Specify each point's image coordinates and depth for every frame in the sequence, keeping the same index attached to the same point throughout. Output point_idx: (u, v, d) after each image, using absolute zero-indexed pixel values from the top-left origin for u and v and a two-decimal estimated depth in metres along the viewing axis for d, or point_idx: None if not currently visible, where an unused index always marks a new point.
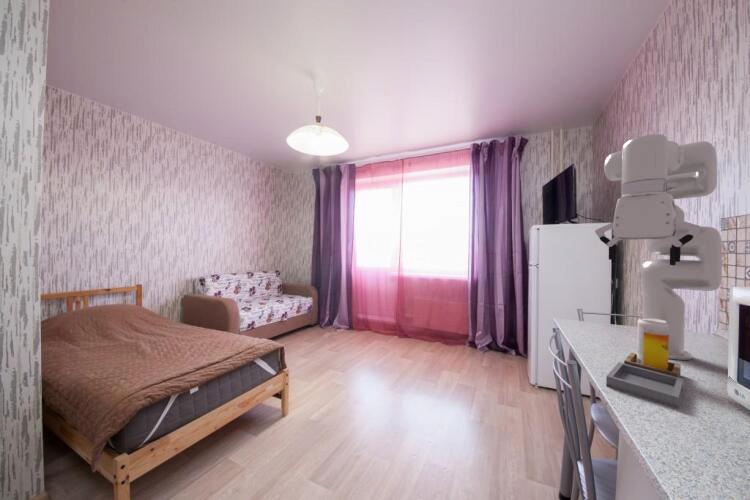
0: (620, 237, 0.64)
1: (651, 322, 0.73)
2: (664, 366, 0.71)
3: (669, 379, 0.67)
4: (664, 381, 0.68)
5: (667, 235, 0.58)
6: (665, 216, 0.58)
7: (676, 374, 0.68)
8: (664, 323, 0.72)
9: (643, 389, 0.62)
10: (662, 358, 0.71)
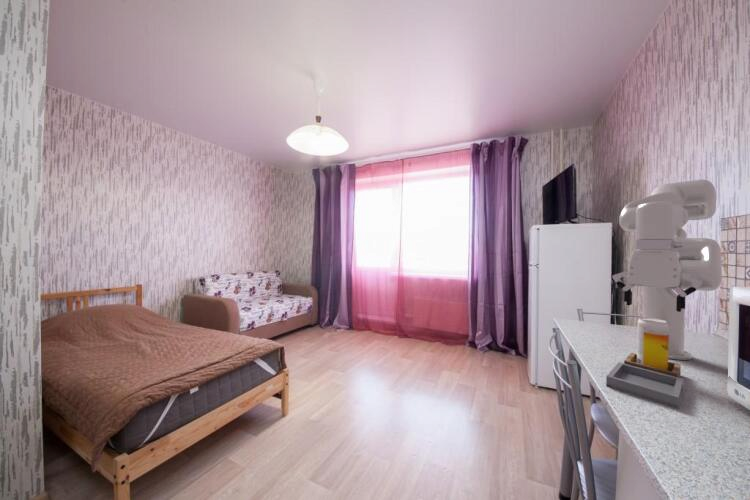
0: (634, 284, 0.76)
1: (651, 322, 0.73)
2: (664, 366, 0.71)
3: (669, 379, 0.67)
4: (664, 381, 0.68)
5: (674, 286, 0.70)
6: (672, 271, 0.70)
7: (676, 374, 0.68)
8: (664, 323, 0.72)
9: (643, 389, 0.62)
10: (662, 358, 0.71)
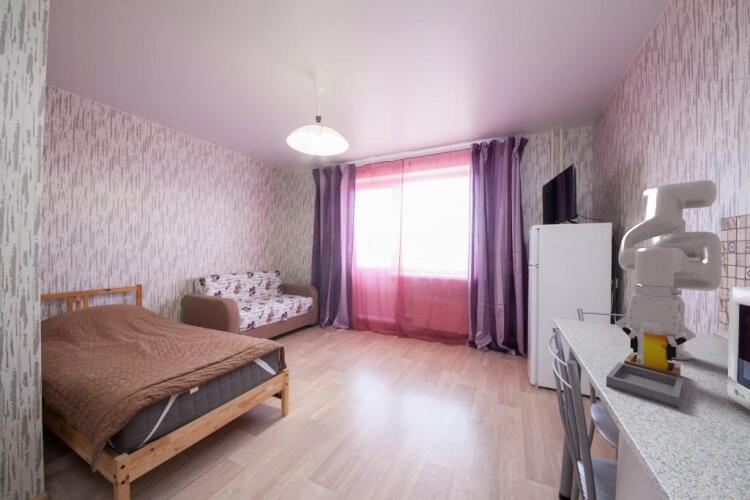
0: (633, 328, 0.76)
1: (651, 322, 0.73)
2: (664, 366, 0.71)
3: (669, 379, 0.67)
4: (664, 381, 0.68)
5: (673, 334, 0.70)
6: (672, 318, 0.70)
7: (676, 374, 0.68)
8: None
9: (643, 389, 0.62)
10: (662, 358, 0.71)
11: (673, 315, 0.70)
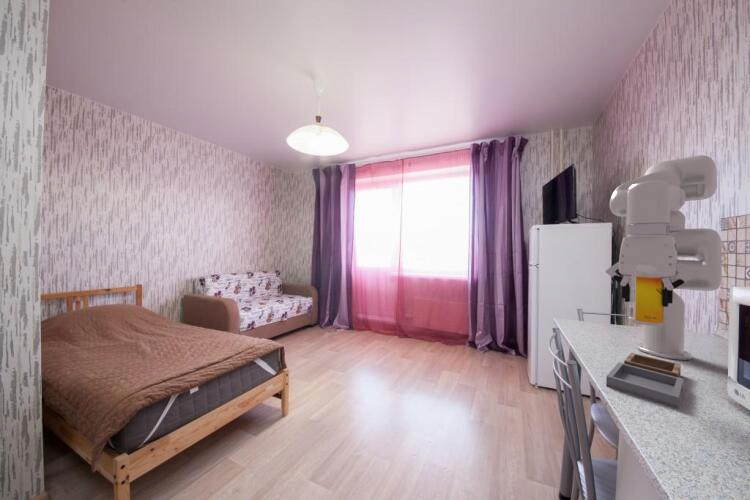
0: (625, 274, 0.68)
1: (644, 264, 0.65)
2: (659, 313, 0.63)
3: (669, 379, 0.67)
4: (664, 381, 0.68)
5: (670, 276, 0.62)
6: (668, 258, 0.62)
7: (676, 374, 0.68)
8: None
9: (643, 389, 0.62)
10: (656, 304, 0.63)
11: (669, 254, 0.62)
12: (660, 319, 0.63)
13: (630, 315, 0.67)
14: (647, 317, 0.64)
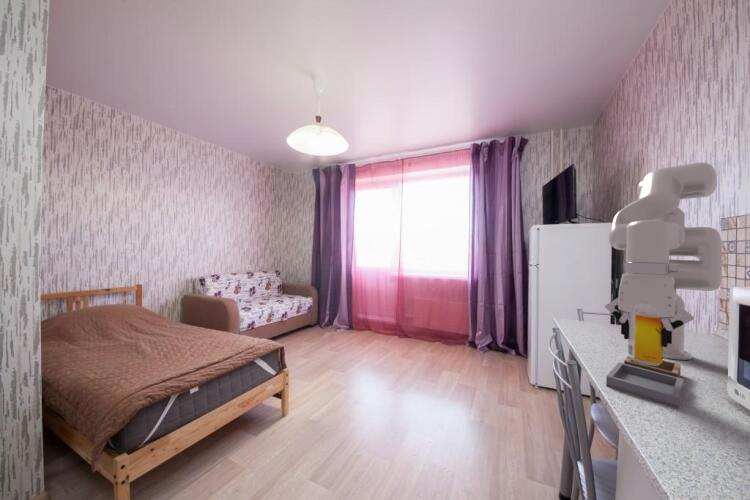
0: (624, 311, 0.68)
1: (644, 303, 0.65)
2: (658, 353, 0.63)
3: (669, 379, 0.67)
4: (664, 381, 0.68)
5: (669, 316, 0.62)
6: (667, 299, 0.62)
7: (676, 374, 0.68)
8: None
9: (643, 389, 0.62)
10: (656, 344, 0.63)
11: (668, 295, 0.62)
12: (660, 359, 0.63)
13: (629, 353, 0.67)
14: (646, 356, 0.64)
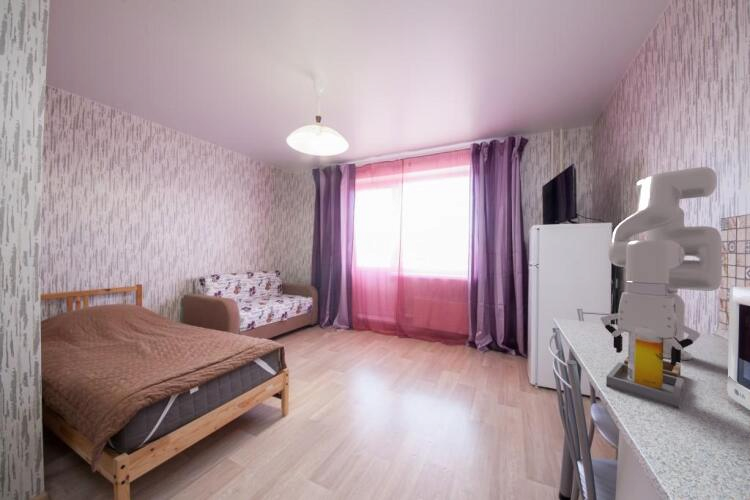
0: (624, 330, 0.68)
1: (644, 328, 0.65)
2: (658, 378, 0.63)
3: (669, 379, 0.67)
4: (664, 381, 0.68)
5: (668, 337, 0.62)
6: (667, 319, 0.62)
7: (676, 374, 0.68)
8: None
9: (643, 389, 0.62)
10: (655, 369, 0.63)
11: (668, 316, 0.62)
12: (659, 383, 0.64)
13: (629, 376, 0.67)
14: (646, 380, 0.64)
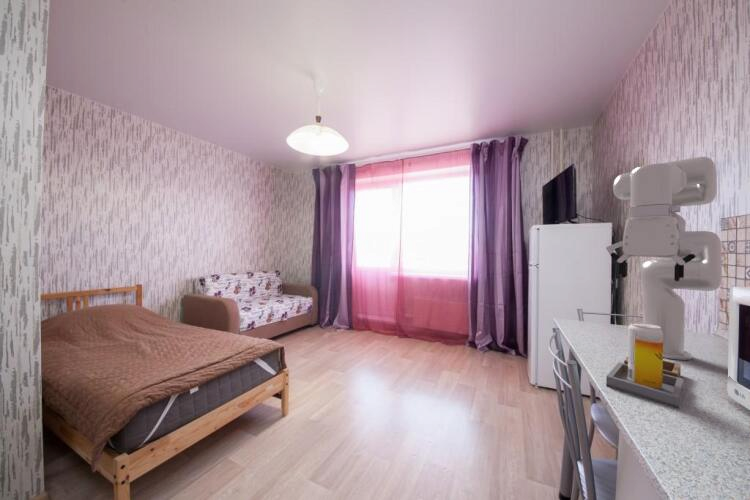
0: (629, 254, 0.71)
1: (643, 328, 0.65)
2: (658, 378, 0.63)
3: (669, 379, 0.67)
4: (664, 381, 0.68)
5: (672, 254, 0.65)
6: (670, 238, 0.65)
7: (676, 374, 0.68)
8: (658, 329, 0.64)
9: (643, 389, 0.62)
10: (655, 369, 0.63)
11: (671, 234, 0.65)
12: (659, 383, 0.64)
13: (629, 376, 0.67)
14: (646, 381, 0.64)
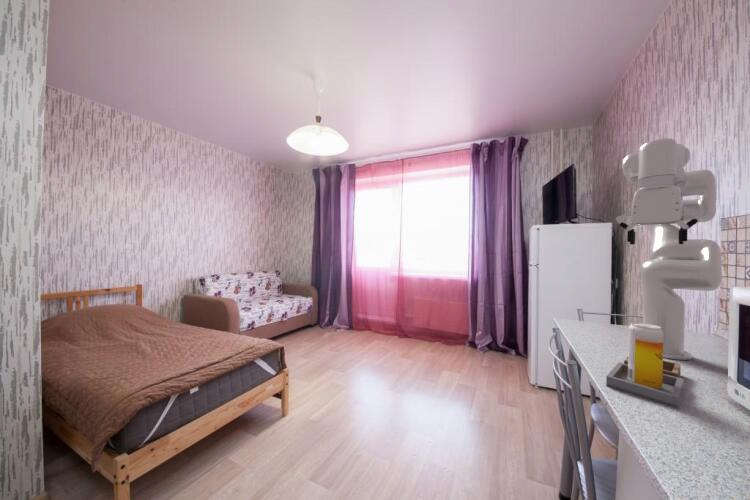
0: (637, 222, 0.78)
1: (643, 328, 0.65)
2: (658, 378, 0.63)
3: (669, 379, 0.67)
4: (664, 381, 0.68)
5: (676, 220, 0.72)
6: (675, 204, 0.72)
7: (676, 374, 0.68)
8: (658, 329, 0.64)
9: (643, 389, 0.62)
10: (655, 369, 0.63)
11: (676, 201, 0.72)
12: (659, 383, 0.64)
13: (629, 376, 0.67)
14: (646, 381, 0.64)
